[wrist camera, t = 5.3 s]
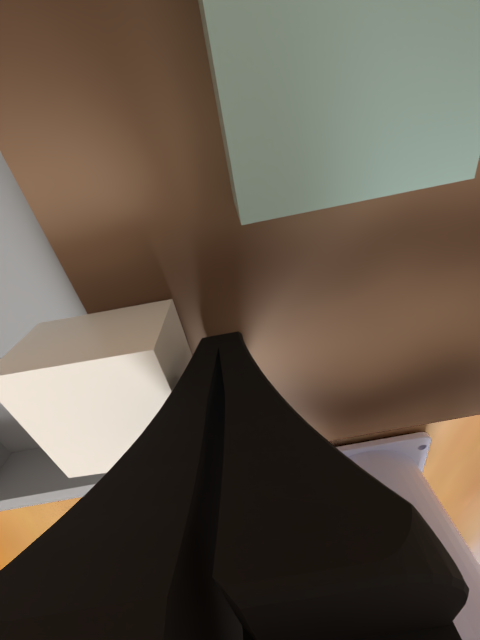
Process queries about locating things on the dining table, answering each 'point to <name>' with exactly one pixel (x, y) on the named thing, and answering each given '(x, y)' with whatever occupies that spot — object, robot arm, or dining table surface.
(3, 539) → the dining table surface
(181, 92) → the board
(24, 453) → the tray
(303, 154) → the grey-green block
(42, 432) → the tile
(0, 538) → the dining table surface
